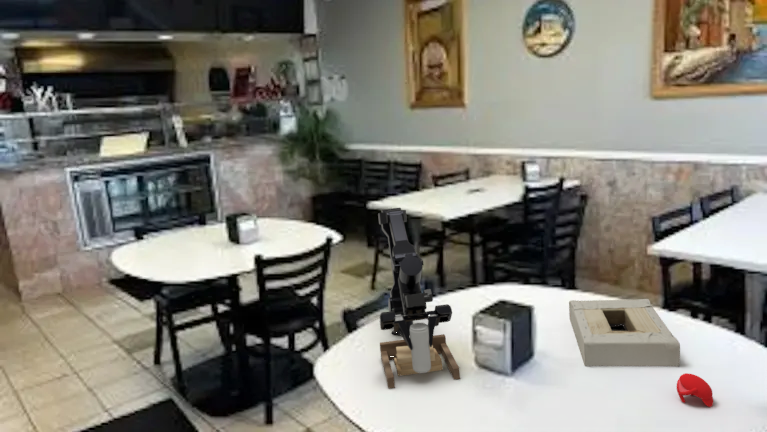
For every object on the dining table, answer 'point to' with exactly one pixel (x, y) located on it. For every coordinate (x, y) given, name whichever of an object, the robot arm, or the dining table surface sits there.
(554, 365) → the dining table surface
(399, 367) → the offcut stack
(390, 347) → the offcut rack
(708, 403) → the red curved shell piece
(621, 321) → the box
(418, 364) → the beverage can
